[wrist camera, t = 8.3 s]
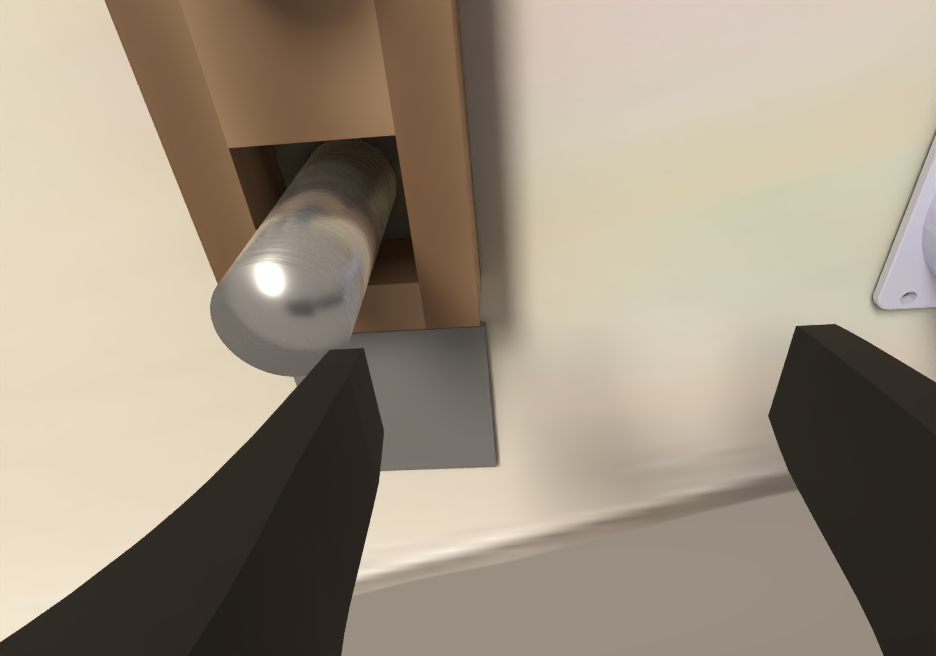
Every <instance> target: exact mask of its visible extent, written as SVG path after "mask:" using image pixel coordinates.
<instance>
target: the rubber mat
mask: <svg viewBox="0 0 936 656" xmlns="http://www.w3.org/2000/svg"><path fill="white" fill-rule="evenodd" d="M354 348H364V350H365V354H366V359H367V363H368V367H369V371H370V375H371V379H372V383H373V387H374V391H375V396H376V400H377V404H378V408H379V412H380V416H381V420H382V424H383V428H384V439H383V449H382V459H381V467H380V471H390V470H419V469H448V468H477V467H496V453H495V441H494V429H493V417H492V405H491V393H490V381H489V369H488V357H487V346H486V334H485V322H481V323H480V326H468V327H449V328H430V329H411V330H392V331H373V332H354V333H352V335H351V338H350V341H349V344H348V347H347V349H354ZM305 377H306V376H299V377H294V379H295V382H296V385H297V386H298V385H299V384H300V383H301V381H302V380H303V379H304V378H305Z"/></svg>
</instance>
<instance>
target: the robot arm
mask: <svg viewBox="0 0 936 656" xmlns="http://www.w3.org/2000/svg"><path fill="white" fill-rule="evenodd" d="M908 292H909V293H908ZM906 293H908V295H906V296H905V297H902V296H903V295H904V294H906ZM901 297H902V298H901ZM873 300H874V302H875V303H876V304H877V305H878V306H879V307H880V308H882V309H886V310H893V309H912V308H931V307H936V135H935V138H934V141H933V143H932V146H931V148H930V151H929V153H928V156H927V159H926V161H925V164H924V166H923V169H922V171H921V174H920V176H919V179H918V182H917V184H916V187H915V189H914V192H913V194H912V197H911V199H910V202H909V205H908V207H907V210H906V212H905V215H904V217H903V220H902V223H901V225H900V228H899V230H898V233H897V235H896V238H895V240H894V243H893V246H892V248H891V251H890V253H889V256H888V258H887V261H886V264H885V266H884V269H883V271H882V274H881V276H880V279H879V281H878V284H877V287H876V289H875V292H874V294H873ZM768 417H769V420H770V422H771V425H772V428H773V431H774V434H775V437H776V440H777V442H778V445H779V448H780V450H781V453H782V455H783V458H784V461H785V463H786V466H787V468H788V471H789V473H790V474H791V476H792V478H793V480H794V482H795V484H796V486H797V488H798V490H799V492H800V493H801V495H802V497H803V499H804V501H805V503H806V504H807V507H808V508H809V510H810V512H811V514H812V516H813V518H814V520H815V521H816V523H817V525H818V527H819V529H820V531H821V532H822V534H823V536H824V538H825V540H826V541H827V543H828V545H829V547H830V549H831V551H832V552H833V554H834V556H835V558H836V560H837V562H838V563H839V565H840V567H841V569H842V571H843V573H844V574H845V576H846V578H847V580H848V581H849V584H850V585H851V587H852V589H853V591H854V593H855V594H856V596H857V598H858V600H859V602H860V604H861V606H862V608H863V610H864V612H865V615H866V617H867V619H868V620H869V623H870V625H871V627H872V629H873V631H874V634H875V636H876V638H877V641H878V643H879V645H880V648H881V650H882V652H883V655H884V656H936V382H934V381H933V380H931V379H929V378H928V377H926V376H924V375H923V374H921V373H919V372H918V371H916V370H914V369H913V368H911V367H909V366H908V365H906V364H904V363H903V362H901V361H899V360H898V359H896V358H894V357H893V356H891V355H889V354H888V353H886V352H884V351H883V350H881V349H879V348H877V347H876V346H874V345H872V344H871V343H869V342H867V341H866V340H864V339H862V338H860V337H859V336H857V335H855V334H853V333H851V332H849V331H848V330H846V329H844V328H842V327H840V326H838V325H836V324H827V325H807V326H796V328H795V331H794V334H793V338H792V341H791V344H790V347H789V351H788V354H787V357H786V360H785V364H784V367H783V370H782V373H781V377H780V380H779V383H778V386H777V390H776V393H775V396H774V399H773V403H772V406H771V409H770V412H769V415H768ZM383 439H384V428H383V424H382V420H381V416H380V412H379V408H378V404H377V400H376V396H375V391H374V387H373V383H372V379H371V375H370V371H369V367H368V363H367V359H366V354H365V350H364V348H354V349H334V350H329V351H328V352H327V353H326V354H325V355H324V357H323V358H322V359H321V360H320V361H319V362H318V363H317V364H316V365H315V366H314V368H313V369H312V370H311V371H310V372H309V373H308V374H307V376H306V377H305V378H304V379H303V380H302V381H301V383H300V384H299V385H298V386H297V387H296V388H295V389H294V391H293V392H292V393H291V394H290V395H289V396H288V397H287V399H286V400H285V401H284V402H283V403H282V404H281V405H280V406H279V408H278V409H277V410H276V411H275V412H274V413H273V414H272V415H271V416H270V417H269V419H268V420H267V421H266V422H265V423H264V424H263V425H262V426H261V427H260V428H259V429H258V431H257V432H256V433H255V434H254V435H253V436H252V437H251V438H250V439H249V440H248V441H247V442H246V443H245V444H244V445H243V446H242V447H241V448H240V449H239V450H238V451H237V452H236V453H235V454H234V455H233V456H232V457H231V458H230V459H229V460H228V461H227V462H226V463H225V464H224V465H223V466H222V467H221V468H220V469H219V470H218V471H217V472H216V473H215V474H214V475H213V476H212V477H211V478H210V479H209V480H208V481H207V482H206V483H205V484H204V485H203V486H202V487H201V488H200V489H199V490H198V491H197V492H196V493H194V494H193V495H192V496H191V497H190V498H189V499H188V500H187V501H186V502H184V503H183V504H182V505H181V506H180V507H179V508H178V509H176V510H175V511H174V512H173V513H172V514H171V515H169V516H168V517H167V518H166V519H165V520H164V521H162V522H161V523H160V524H159V525H158V526H157V527H155V528H154V529H153V530H152V531H151V532H150V533H148V534H147V535H146V536H145V537H143V538H142V539H141V540H140V541H139V542H137V543H136V544H135V545H134V546H132V547H131V548H130V549H128V550H127V551H126V552H124V553H123V554H122V555H120V556H119V557H118V558H117V559H115V560H114V561H113V562H111V563H110V564H109V565H107V566H106V567H105V568H103V569H102V570H101V571H100V572H98V573H97V574H96V575H94V576H93V577H92V578H90V579H89V580H88V581H86V582H85V583H84V584H83V585H81V586H80V587H79V588H77V589H76V590H75V591H73V592H72V593H71V594H69V595H68V596H67V597H65V598H64V599H62V600H61V601H60V602H58V603H57V604H55V605H54V606H52V607H51V608H50V609H48V610H47V611H45V612H44V613H42V614H41V615H40V616H38V617H37V618H35V619H34V620H32V621H31V622H30V623H28V624H27V625H25V626H24V627H22V628H21V629H19V630H18V631H16V632H15V633H13V634H12V635H10V636H9V637H7V638H6V639H4V640H3V641H1V642H0V656H341V653H342V645H343V639H344V632H345V627H346V622H347V617H348V612H349V607H350V602H351V598H352V594H353V590H354V586H355V582H356V577H357V573H358V569H359V565H360V561H361V557H362V552H363V548H364V544H365V540H366V536H367V532H368V527H369V523H370V519H371V515H372V510H373V506H374V502H375V497H376V493H377V488H378V484H379V476H380V467H381V459H382V449H383Z"/></svg>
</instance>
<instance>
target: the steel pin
mask: <svg viewBox="0 0 936 656" xmlns="http://www.w3.org/2000/svg"><path fill="white" fill-rule="evenodd" d="M396 192H397V181H396V176H395V172H394V170H393V167H392V166H391V164H390V162H389V161H388V159H387V158H386V157H385V155H384V154H383V153H382V152H381V151H380V150H378V149H377V148H376V147H374V146H373V145H371V144H369V143H368V142H365V141H363V140H360V139H356V138H352V139H339V140H329V141H327V142H325V143H323V144H321V145H320V146H319V147H318V148H317V149H316V150H315V151H314V152H313V153H312V155H311V156H310V157H309V159H308V160H307V162H306V163H305V164H304V166H303V167H302V169H301V170H300V171H299V173H298V174H297V175H296V177H295V178H294V180H293V181H292V182H291V184H290V185H289V187H288V188H287V189H286V191H285V192H284V194H283V195H282V196H281V198H280V199H279V200H278V202H277V203H276V205H275V206H274V207H273V209H272V210H271V212H270V213H269V214H268V216H267V217H266V218H265V220H264V221H263V223H262V224H261V225H260V227H259V228H258V230H257V231H256V232H255V234H254V235H253V237H252V238H251V239H250V241H249V242H248V243H247V245H246V246H245V248H244V249H243V250H242V252H241V253H240V255H239V256H238V257H237V259H236V260H235V261H234V263H233V264H232V266H231V267H230V268H229V270H228V271H227V273H226V274H225V275H224V277H223V278H222V280H221V281H220V282H219V284H218V285H217V287H216V289H215V290H214V292H213V295H212V298H211V304H210V313H211V319H212V322H213V325H214V328H215V330H216V332H217V334H218V336H219V337H220V339H221V340H222V342H223V343H224V344H225V345H226V346H227V348H228V349H229V350H231V351H232V352H233V353H234V354H235V355H236V356H237V357H239V358H240V359H241V360H243V361H245V362H246V363H248V364H249V365H251V366H253V367H255V368H257V369H260V370H263V371H265V372H268V373H272V374H276V375H281V376H290V377H299V376H307V374H308V373H309V372H310V371H311V370H312V369H313V368H314V366H315V365H316V364H317V363H318V362H319V361H320V360H321V359H322V358H323V357H324V355H325V354H326V353H327V352H328V351H329V350H334V349H347V347H348V344H349V341H350V338H351V335H352V332H353V329H354V326H355V322H356V319H357V316H358V313H359V310H360V307H361V304H362V300H363V297H364V294H365V291H366V288H367V285H368V282H369V279H370V275H371V272H372V269H373V266H374V263H375V260H376V257H377V253H378V250H379V247H380V244H381V241H382V238H383V235H384V232H385V228H386V225H387V222H388V219H389V216H390V213H391V210H392V206H393V203H394V200H395V197H396Z"/></svg>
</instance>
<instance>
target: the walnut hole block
mask: <svg viewBox="0 0 936 656" xmlns="http://www.w3.org/2000/svg"><path fill="white" fill-rule="evenodd" d="M105 3H106V5H107V8H108V10H109V13H110V15H111V18H112V20H113V23H114V25H115V28H116V30H117V33H118V35H119V38H120V40H121V43H122V45H123V48H124V50H125V53H126V55H127V58H128V60H129V63H130V65H131V68H132V70H133V73H134V75H135V78H136V80H137V83H138V85H139V88H140V90H141V93H142V95H143V98H144V100H145V103H146V105H147V108H148V110H149V113H150V115H151V118H152V120H153V123H154V125H155V128H156V130H157V133H158V135H159V138H160V140H161V143H162V145H163V148H164V150H165V153H166V155H167V158H168V160H169V163H170V165H171V168H172V170H173V173H174V175H175V178H176V180H177V183H178V185H179V188H180V190H181V193H182V195H183V198H184V201H185V203H186V206H187V208H188V211H189V213H190V216H191V218H192V221H193V223H194V226H195V228H196V231H197V233H198V236H199V238H200V241H201V243H202V246H203V248H204V251H205V253H206V256H207V258H208V261H209V263H210V266H211V268H212V271H213V273H214V276H215V278H216V281H217V283H218V284H219V282H220V281H221V280H222V278H223V277H224V275H225V274H226V273H227V271H228V270H229V268H230V267H231V266H232V264H233V263H234V261H235V260H236V259H237V257H238V256H239V255H240V253H241V252H242V250H243V249H244V248H245V246H246V245H247V243H248V242H249V241H250V239H251V238H252V237H253V235H254V234H255V232H256V231H257V230H258V228H259V227H260V225H261V224H262V223H263V221H264V220H265V218H266V217H267V216H268V214H269V213H270V212H271V210H272V209H273V207H274V206H275V205H276V203H277V202H278V200H279V199H280V198H281V196H282V195H283V194H284V192H285V191H286V190H285V187H284V183H283V180H282V176H281V173H280V169H279V166H278V162H277V159H276V155H275V152H274V148H273V145H275V144H288V143H301V142H314V141H327V140H339V139H352V138H365V137H378V136H391V135H395V136H396V143H397V149H398V155H399V161H400V168H401V174H402V180H403V187H404V193H405V199H406V206H407V212H408V218H409V225H410V231H411V237H412V239H397V240H382V241H381V244H380V247H379V250H378V253H377V257H376V260H375V263H374V266H373V269H372V272H371V275H370V279H369V282H368V285H367V288H366V291H365V294H364V297H363V300H362V304H361V307H360V310H359V313H358V316H357V319H356V322H355V326H354V329H353V332H352V333H354V332H373V331H392V330H411V329H430V328H449V327H468V326H480V293H481V274H480V262H479V250H478V238H477V226H476V214H475V203H474V191H473V179H472V167H471V155H470V143H469V131H468V119H467V107H466V95H465V83H464V72H463V60H462V48H461V36H460V24H459V12H458V0H105Z"/></svg>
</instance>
